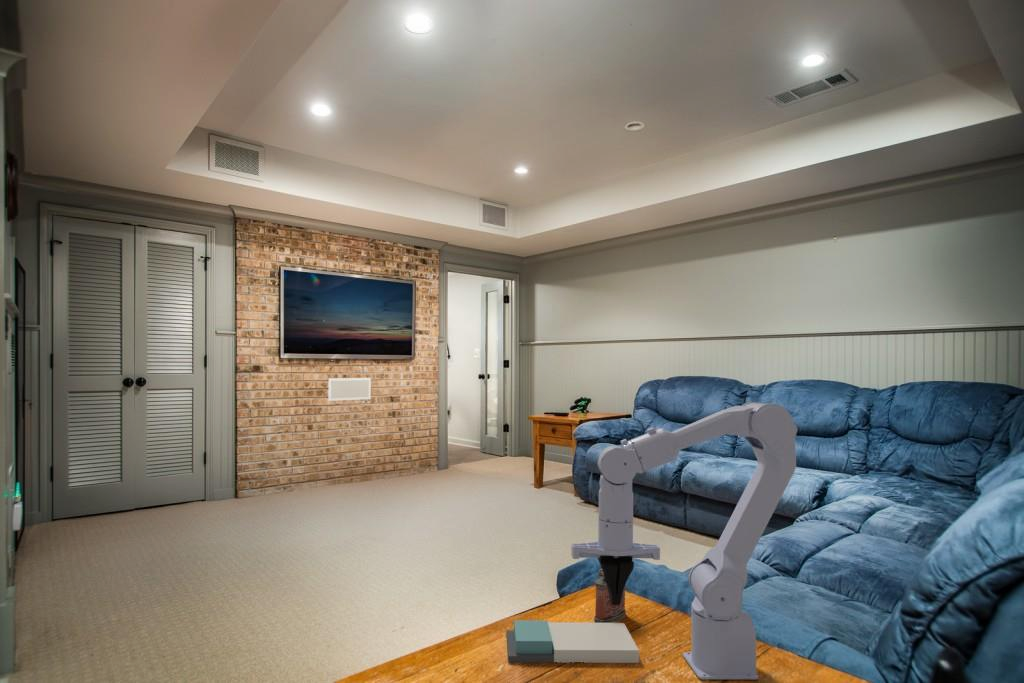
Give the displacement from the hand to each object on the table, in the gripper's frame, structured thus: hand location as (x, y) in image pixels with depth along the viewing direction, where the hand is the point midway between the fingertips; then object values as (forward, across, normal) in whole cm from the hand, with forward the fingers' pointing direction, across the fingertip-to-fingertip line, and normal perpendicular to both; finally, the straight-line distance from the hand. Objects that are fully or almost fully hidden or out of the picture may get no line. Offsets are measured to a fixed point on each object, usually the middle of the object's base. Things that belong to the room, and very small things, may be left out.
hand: (614, 602), depth 93 cm
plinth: (+9, +3, -5) cm, 11 cm away
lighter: (+10, -3, -17) cm, 20 cm away
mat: (+9, +14, -4) cm, 17 cm away
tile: (+8, +13, -4) cm, 16 cm away
